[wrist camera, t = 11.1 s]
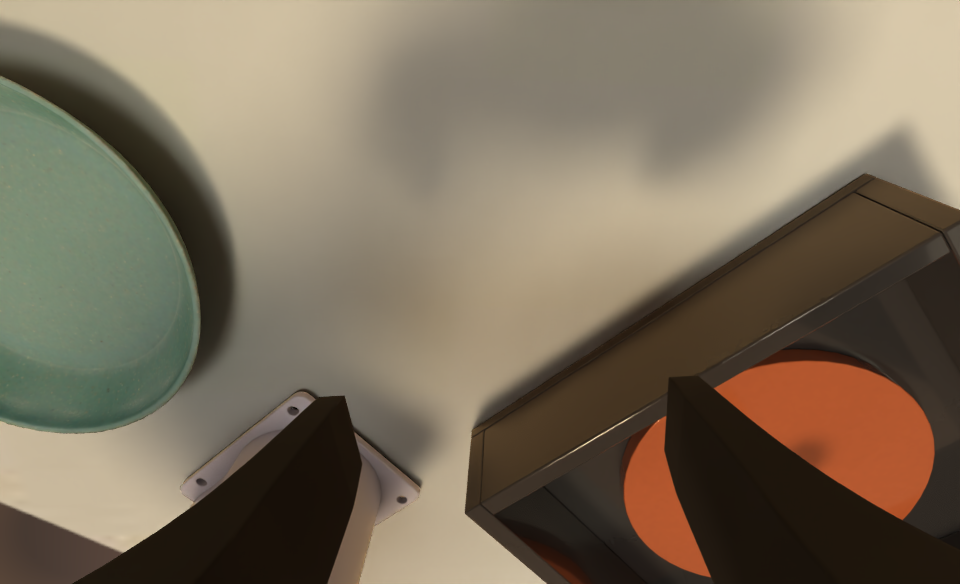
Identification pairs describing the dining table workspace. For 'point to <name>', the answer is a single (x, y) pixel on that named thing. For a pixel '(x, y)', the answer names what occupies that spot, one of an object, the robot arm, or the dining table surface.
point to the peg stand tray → (721, 356)
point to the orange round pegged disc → (796, 441)
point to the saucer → (85, 278)
